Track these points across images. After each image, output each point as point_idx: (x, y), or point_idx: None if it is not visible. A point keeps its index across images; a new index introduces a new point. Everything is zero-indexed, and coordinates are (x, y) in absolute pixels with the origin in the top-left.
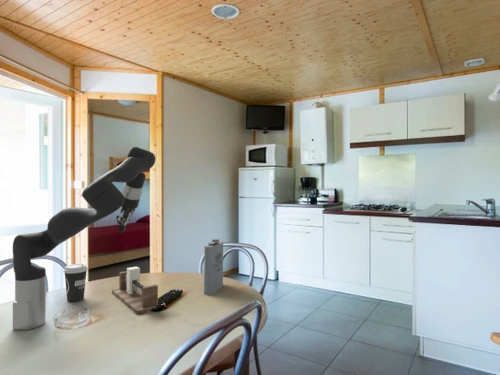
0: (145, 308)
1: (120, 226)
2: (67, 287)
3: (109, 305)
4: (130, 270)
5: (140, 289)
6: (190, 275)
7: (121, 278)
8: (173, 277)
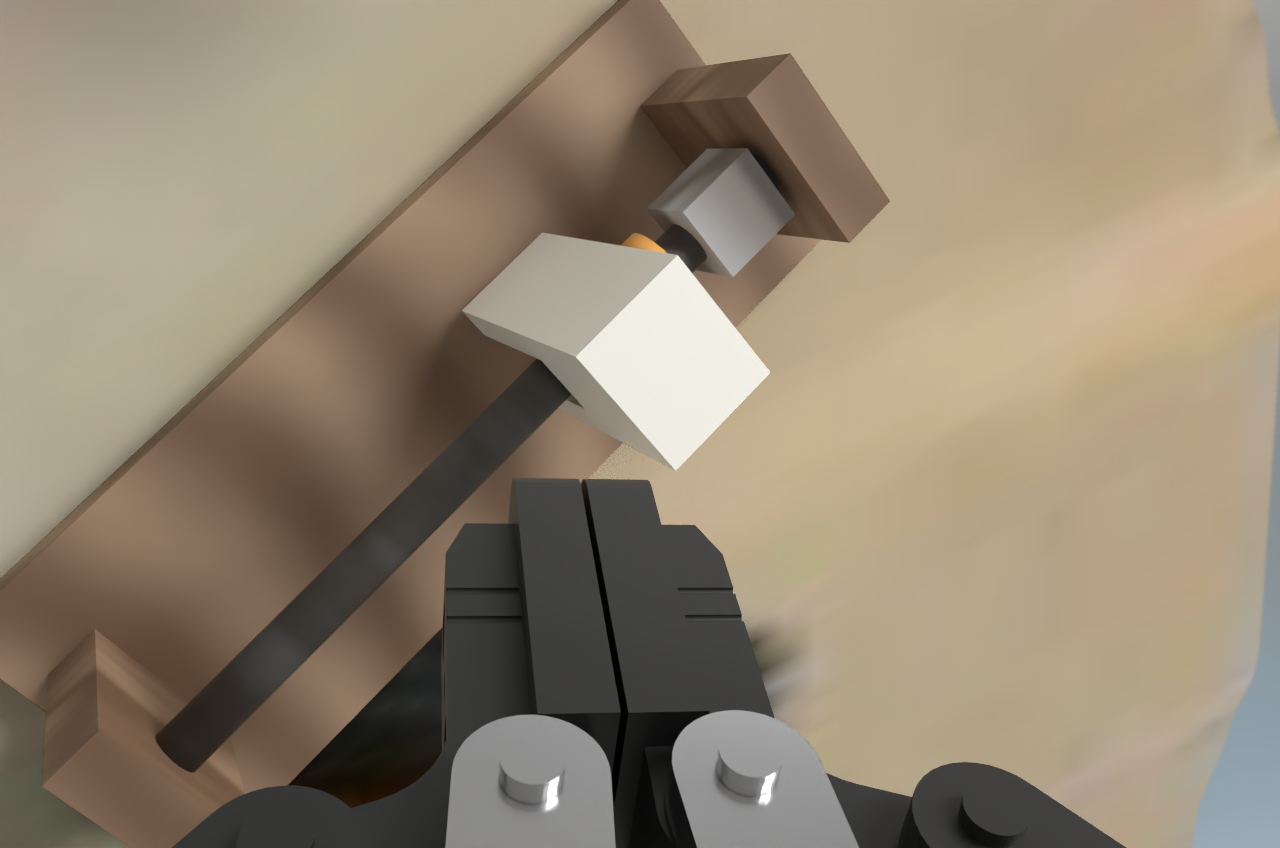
0: (44, 699)
1: (445, 718)
2: None
3: (207, 149)
4: (579, 362)
5: None
6: (1184, 632)
7: (715, 107)
8: (1134, 485)
